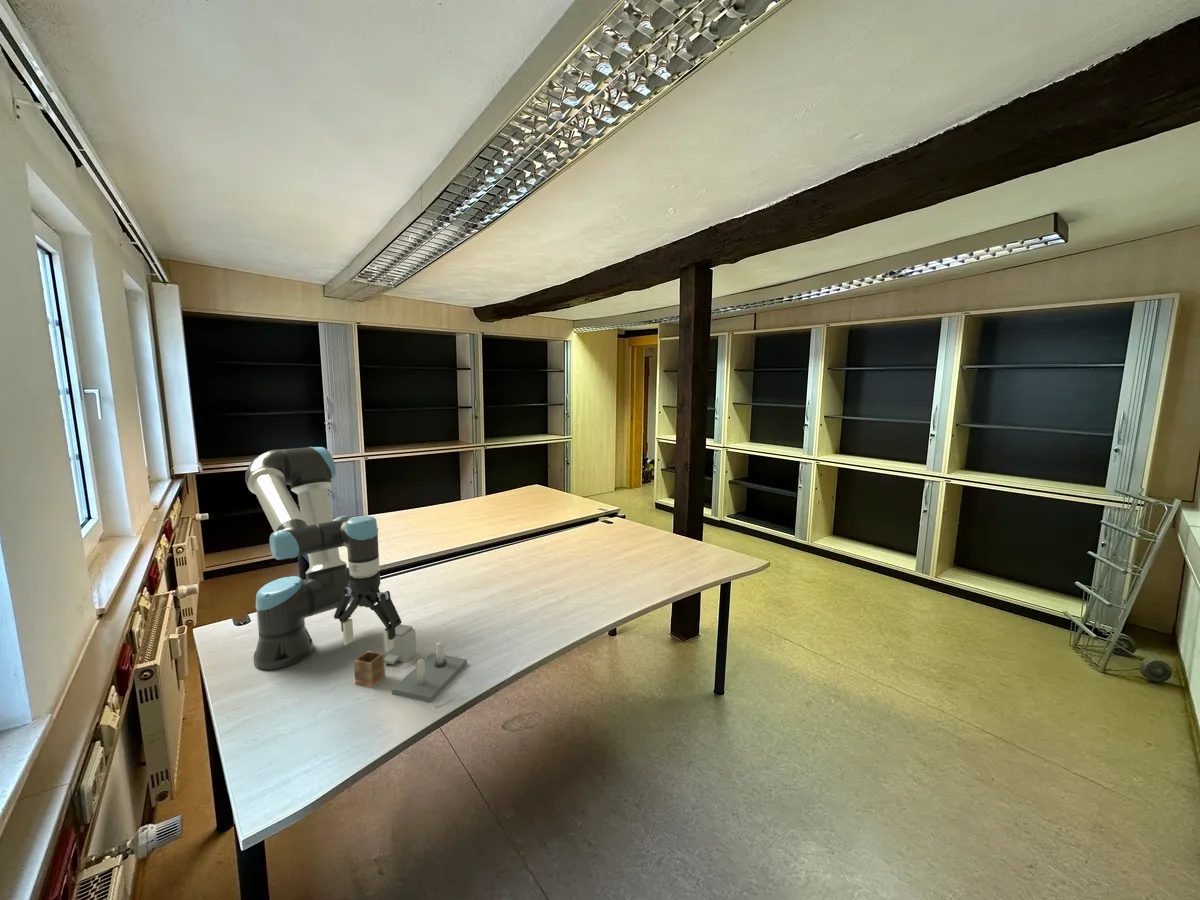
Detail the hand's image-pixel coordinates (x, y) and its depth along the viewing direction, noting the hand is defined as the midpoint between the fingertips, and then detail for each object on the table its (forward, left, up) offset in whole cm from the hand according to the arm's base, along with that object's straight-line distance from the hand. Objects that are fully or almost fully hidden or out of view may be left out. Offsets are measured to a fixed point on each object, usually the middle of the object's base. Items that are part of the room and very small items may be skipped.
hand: (369, 645), depth 129 cm
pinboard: (+16, +6, -11) cm, 20 cm away
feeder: (0, +11, -11) cm, 15 cm away
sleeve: (0, 0, -11) cm, 11 cm away
